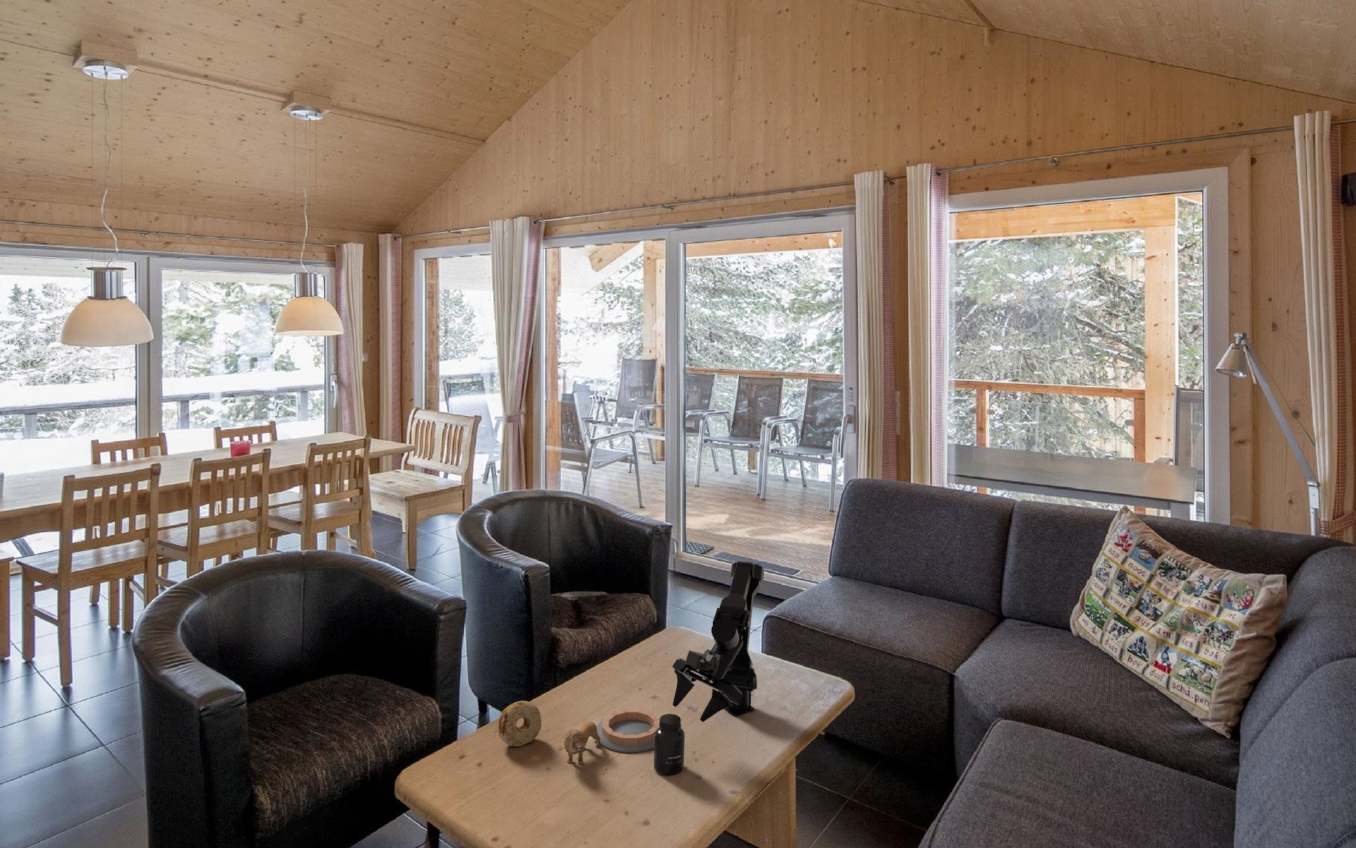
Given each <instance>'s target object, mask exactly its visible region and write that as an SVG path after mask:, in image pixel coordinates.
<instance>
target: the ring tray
mask: <svg viewBox="0 0 1356 848" xmlns="http://www.w3.org/2000/svg"><path fill="white" fill-rule="evenodd" d="M659 723H660V717H658V716H657V715H655V714H654V713H653V712H650V711H647V710H643V709H639V708H638V709H637V708H633V709H632V708H629V709H628V708H627V709H626V708H625V709H621V710H620V709H619V710H618V711H613V712H610V713H609V714H608V715H607V716H606V717H604V718H603V719H602V720H601V721H599V722H598V723H597V725H596V727H597V733H598V736H600V742H601V746H602V748H605V749H607V750H610V751H612V752H617V753H624V754H626V753H627V754H633V753H634V754H635V753H636V754H637V753H643V752H648V751H650V750H654V741H655V731H656V730H657V728H659ZM595 741H596V742H597V740H595ZM601 746H600V747H601Z"/></svg>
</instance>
